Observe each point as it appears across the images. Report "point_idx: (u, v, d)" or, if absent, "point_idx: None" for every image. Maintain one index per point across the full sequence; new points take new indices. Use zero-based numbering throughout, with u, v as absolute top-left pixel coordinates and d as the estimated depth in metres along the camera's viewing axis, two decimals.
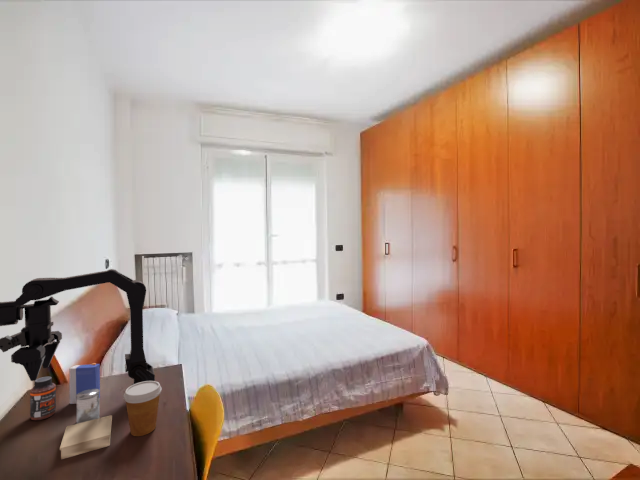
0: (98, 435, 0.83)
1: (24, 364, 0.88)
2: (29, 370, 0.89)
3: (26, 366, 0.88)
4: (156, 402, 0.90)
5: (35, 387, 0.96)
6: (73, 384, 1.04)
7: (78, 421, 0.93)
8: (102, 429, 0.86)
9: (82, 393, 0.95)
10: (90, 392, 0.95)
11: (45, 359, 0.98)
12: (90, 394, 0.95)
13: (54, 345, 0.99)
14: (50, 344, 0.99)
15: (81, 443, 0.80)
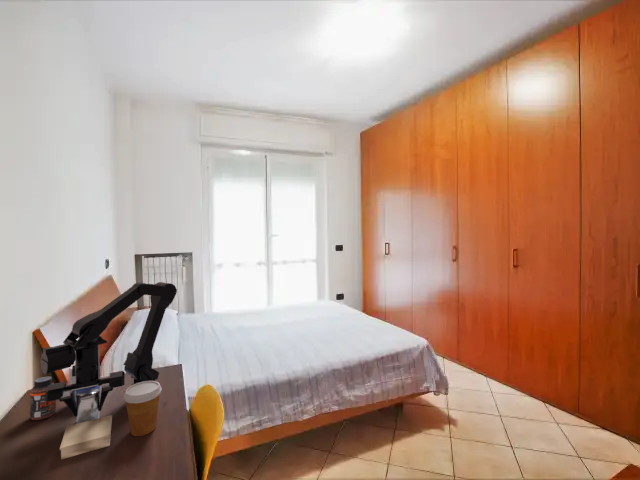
0: (98, 435, 0.83)
1: None
2: None
3: None
4: (156, 402, 0.90)
5: (35, 387, 0.96)
6: None
7: (78, 421, 0.93)
8: (102, 429, 0.86)
9: (82, 393, 0.95)
10: (90, 392, 0.95)
11: None
12: (90, 394, 0.95)
13: (101, 391, 0.95)
14: (102, 388, 0.96)
15: (81, 443, 0.80)
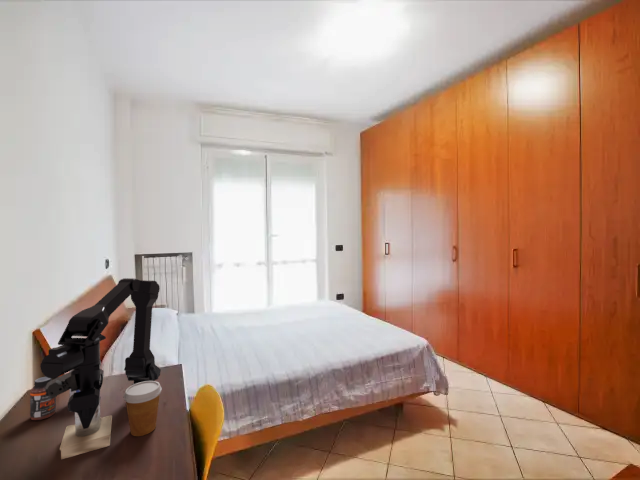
0: (98, 435, 0.83)
1: (78, 411, 0.79)
2: (83, 418, 0.80)
3: (80, 414, 0.79)
4: (156, 402, 0.90)
5: (35, 387, 0.96)
6: None
7: (94, 428, 0.84)
8: (102, 429, 0.86)
9: None
10: None
11: None
12: None
13: (98, 385, 0.91)
14: None
15: (81, 443, 0.80)
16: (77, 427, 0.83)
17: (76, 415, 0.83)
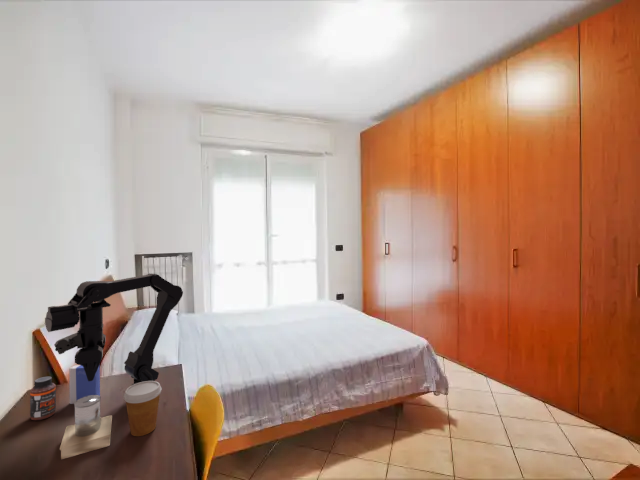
0: (98, 435, 0.83)
1: (84, 365, 0.90)
2: (88, 371, 0.91)
3: (85, 367, 0.90)
4: (156, 402, 0.90)
5: (35, 387, 0.96)
6: (73, 384, 1.04)
7: (94, 428, 0.84)
8: (102, 429, 0.86)
9: (83, 403, 0.84)
10: (86, 399, 0.86)
11: None
12: (91, 398, 0.86)
13: (101, 347, 1.02)
14: None
15: (81, 443, 0.80)
16: (77, 427, 0.83)
17: (76, 415, 0.83)
